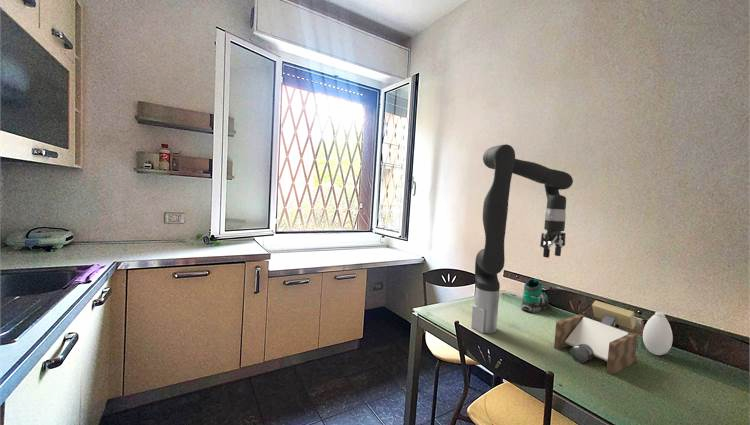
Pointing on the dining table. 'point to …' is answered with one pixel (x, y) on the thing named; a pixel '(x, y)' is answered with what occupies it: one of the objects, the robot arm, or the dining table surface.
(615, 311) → the trapdoor
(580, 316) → the frame
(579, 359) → the cylinder
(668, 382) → the dining table surface
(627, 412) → the dining table surface
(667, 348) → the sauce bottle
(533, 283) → the sneaker
